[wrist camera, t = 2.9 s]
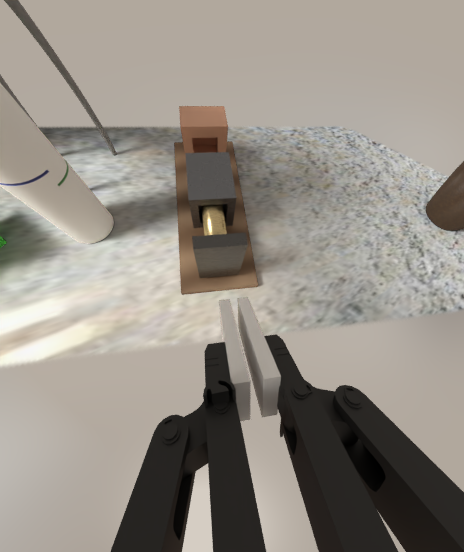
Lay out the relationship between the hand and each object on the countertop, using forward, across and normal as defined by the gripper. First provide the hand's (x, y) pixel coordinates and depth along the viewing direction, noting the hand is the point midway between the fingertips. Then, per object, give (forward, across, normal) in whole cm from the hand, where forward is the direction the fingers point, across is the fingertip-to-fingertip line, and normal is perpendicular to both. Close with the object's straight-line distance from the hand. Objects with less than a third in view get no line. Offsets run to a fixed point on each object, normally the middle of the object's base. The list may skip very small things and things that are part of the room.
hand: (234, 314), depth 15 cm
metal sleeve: (+27, 0, +6) cm, 28 cm away
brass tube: (+23, 0, +3) cm, 23 cm away
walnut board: (+28, 0, +5) cm, 28 cm away
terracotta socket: (+35, 0, +14) cm, 37 cm away
